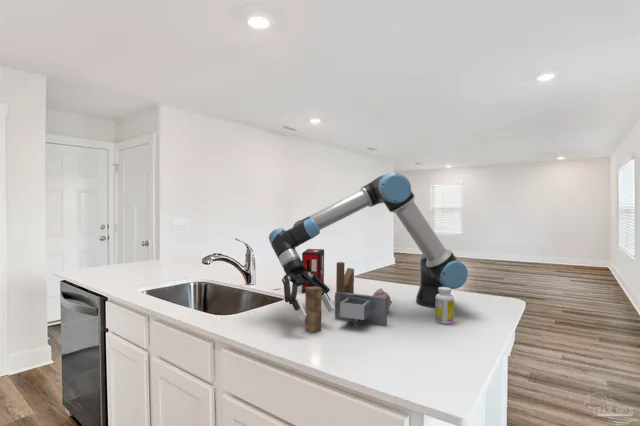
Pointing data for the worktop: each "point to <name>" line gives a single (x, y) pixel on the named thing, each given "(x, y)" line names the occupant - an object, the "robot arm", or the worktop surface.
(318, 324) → the post
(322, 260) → the cleaning product box
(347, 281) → the brown wooden piece
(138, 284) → the worktop surface
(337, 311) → the cup bracket
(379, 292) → the cupcake
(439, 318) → the supplement bottle
